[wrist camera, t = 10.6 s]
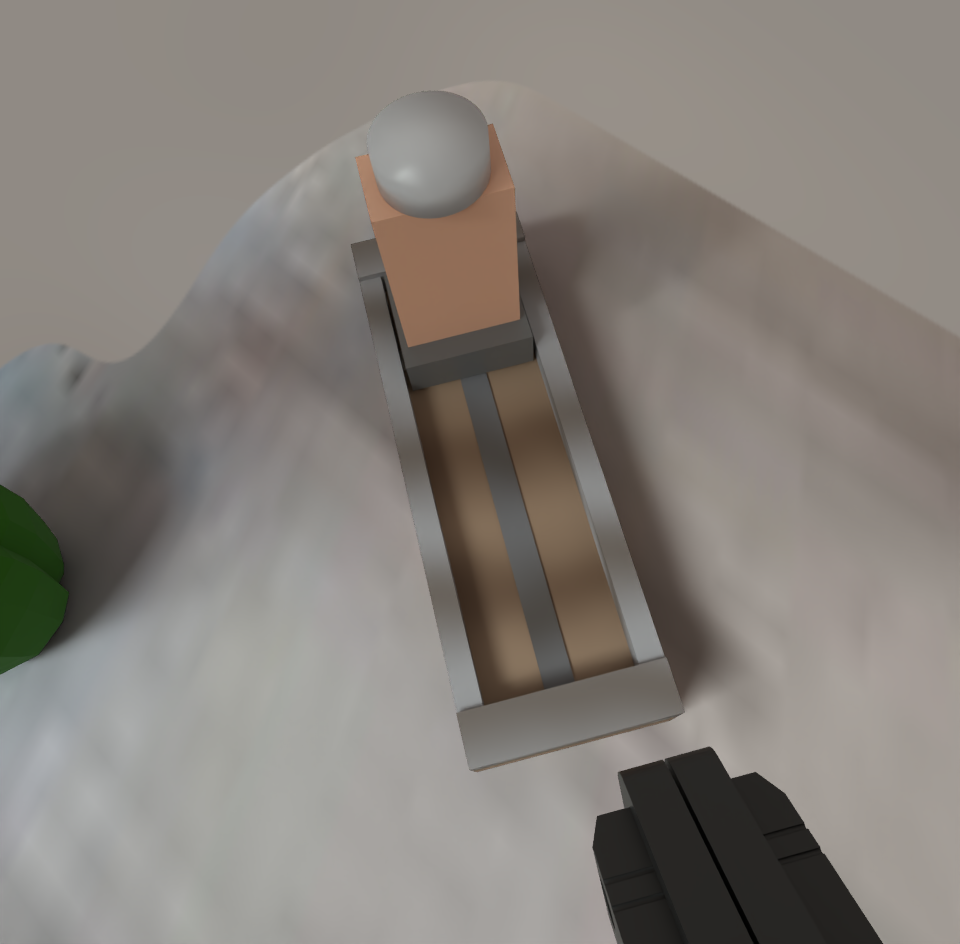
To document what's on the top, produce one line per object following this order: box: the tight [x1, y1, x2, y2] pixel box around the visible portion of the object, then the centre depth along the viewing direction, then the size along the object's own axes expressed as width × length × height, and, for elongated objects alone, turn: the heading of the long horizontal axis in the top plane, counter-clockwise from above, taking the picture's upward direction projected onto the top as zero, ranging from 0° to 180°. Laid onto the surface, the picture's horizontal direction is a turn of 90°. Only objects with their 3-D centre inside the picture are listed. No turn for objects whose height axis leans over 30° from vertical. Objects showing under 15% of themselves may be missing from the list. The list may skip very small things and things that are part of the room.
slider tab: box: [355, 91, 533, 391], centre depth 31 cm, size 5×6×12 cm
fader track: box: [351, 212, 685, 772], centre depth 34 cm, size 24×8×4 cm, turn 14°
